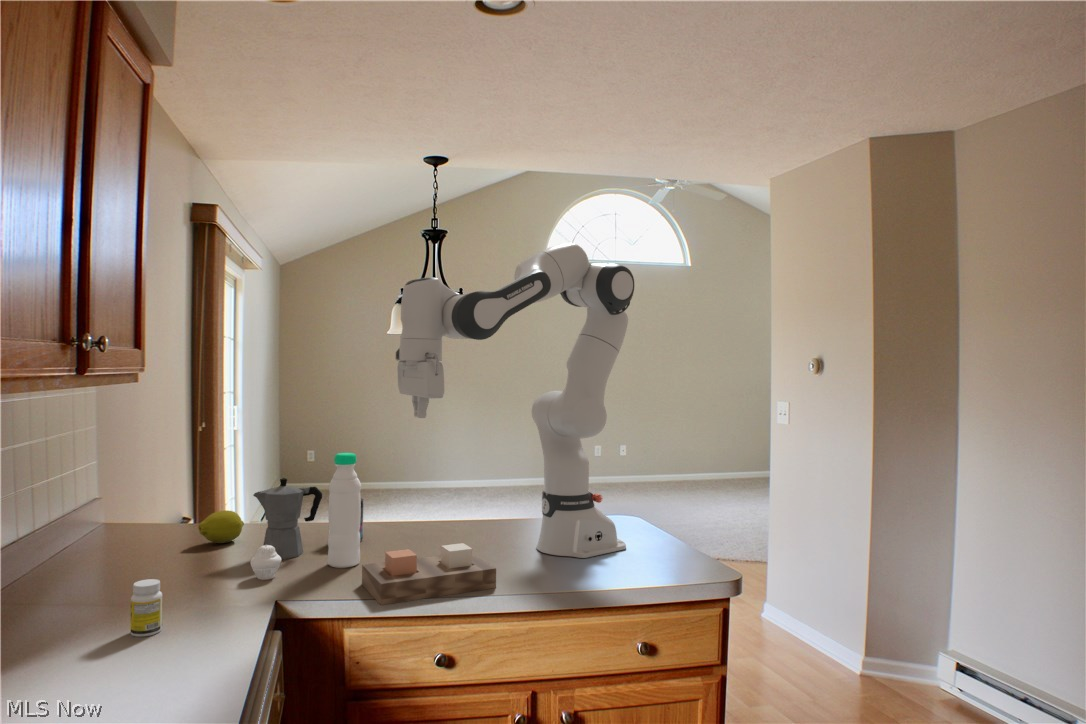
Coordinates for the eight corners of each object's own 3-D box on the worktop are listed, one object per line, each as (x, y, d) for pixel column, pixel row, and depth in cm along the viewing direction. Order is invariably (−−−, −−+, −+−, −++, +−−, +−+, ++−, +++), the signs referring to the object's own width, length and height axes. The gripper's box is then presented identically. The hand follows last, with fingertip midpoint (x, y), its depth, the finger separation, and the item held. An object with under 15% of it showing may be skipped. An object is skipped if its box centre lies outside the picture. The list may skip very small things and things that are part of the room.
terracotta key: (408, 573, 150) (409, 549, 150) (416, 580, 146) (416, 555, 145) (384, 576, 148) (385, 551, 148) (391, 583, 143) (392, 558, 143)
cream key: (462, 566, 156) (463, 543, 156) (471, 572, 151) (472, 548, 151) (440, 569, 153) (441, 545, 153) (449, 575, 149) (449, 551, 149)
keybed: (469, 569, 161) (470, 551, 161) (495, 587, 149) (496, 568, 149) (361, 584, 150) (362, 564, 150) (380, 605, 138) (380, 584, 138)
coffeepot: (252, 562, 164) (253, 483, 164) (252, 551, 173) (253, 476, 173) (323, 556, 170) (324, 479, 170) (319, 546, 179) (320, 473, 179)
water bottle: (351, 569, 160) (352, 456, 160) (321, 567, 161) (323, 454, 161) (365, 560, 167) (366, 452, 167) (336, 558, 168) (338, 451, 168)
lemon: (240, 536, 187) (240, 505, 187) (248, 543, 180) (248, 511, 180) (194, 542, 180) (194, 510, 180) (201, 549, 174) (201, 516, 174)
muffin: (285, 578, 153) (286, 545, 153) (256, 584, 149) (256, 550, 149) (274, 571, 158) (275, 539, 158) (245, 576, 154) (246, 543, 153)
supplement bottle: (138, 627, 125) (139, 578, 125) (167, 626, 125) (167, 577, 125) (124, 637, 120) (125, 587, 120) (154, 637, 120) (155, 586, 120)
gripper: (452, 353, 148) (451, 421, 148) (420, 353, 166) (419, 413, 166) (422, 352, 145) (421, 422, 145) (392, 352, 163) (392, 414, 163)
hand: (420, 417), depth 155 cm, fingers closed
